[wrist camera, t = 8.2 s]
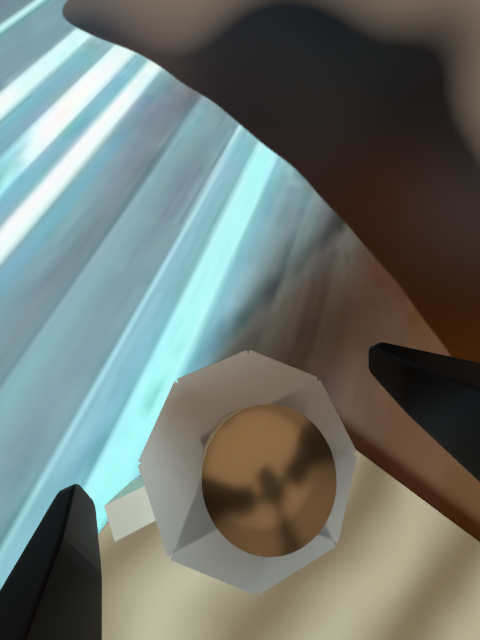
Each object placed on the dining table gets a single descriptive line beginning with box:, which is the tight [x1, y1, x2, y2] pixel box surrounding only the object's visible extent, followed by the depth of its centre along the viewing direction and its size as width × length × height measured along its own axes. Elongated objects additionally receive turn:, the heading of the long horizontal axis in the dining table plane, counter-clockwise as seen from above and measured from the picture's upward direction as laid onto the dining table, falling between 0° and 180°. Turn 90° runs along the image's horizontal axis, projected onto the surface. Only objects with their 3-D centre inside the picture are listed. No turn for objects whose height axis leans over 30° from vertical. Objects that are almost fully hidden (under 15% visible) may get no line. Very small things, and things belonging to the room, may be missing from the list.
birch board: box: [98, 450, 480, 640], centre depth 16 cm, size 20×18×1 cm
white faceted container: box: [105, 350, 357, 595], centre depth 14 cm, size 9×8×8 cm
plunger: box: [202, 404, 337, 557], centre depth 12 cm, size 5×5×9 cm
